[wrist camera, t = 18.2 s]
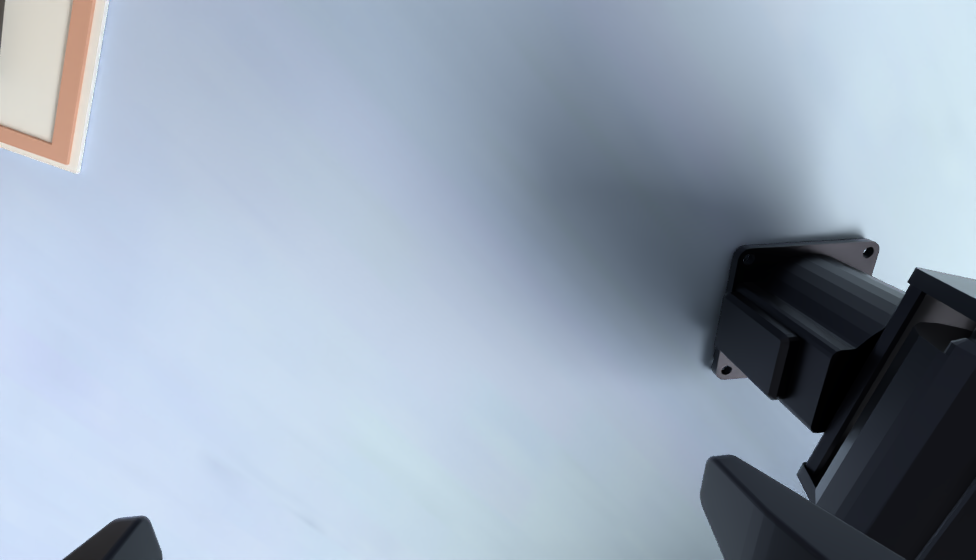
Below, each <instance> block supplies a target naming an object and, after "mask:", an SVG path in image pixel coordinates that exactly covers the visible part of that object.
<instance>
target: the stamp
mask: <svg viewBox="0 0 976 560" xmlns="http://www.w3.org/2000/svg"><path fill="white" fill-rule="evenodd" d="M4 7H5V0H0V49H1V38H2V28H3V18H4Z"/></svg>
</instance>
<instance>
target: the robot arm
mask: <svg viewBox="0 0 976 560" xmlns="http://www.w3.org/2000/svg"><path fill="white" fill-rule="evenodd" d="M865 249H866V251H865V252H864V250H865ZM863 252H864V253H863ZM878 253H879V245H878V244H877V243H876V242H874V241H871V240H869V239H847V240H829V241H812V242H794V243H776V244H758V245H744V246H741V247H739V248H738V249H737V250H736V251H735V252H734V254H733V257H732V262H731V267H730V273H729V278H728V283H727V289H726V294H725V296H724V298H723V302H722V307H721V313H720V318H719V323H718V329H717V334H716V339H715V346H716V347H715V353H714V358H713V363H712V371H713V373H714V374H715V375H716V376H717V377H718V378H720V379H724V380H725V379H737V378H749V379H750V380H751V381H752V382H753V383H754V384H755V385H756V386H757V387H758V388H759V389H760V390H761V391H762V392H763V393H764V394H765V395H766V396H767V397H768V398H770V399H771V400H779V401H780V402H781V403H782V404H783V405H784V406H785V407H786V408H787V409H788V410H790V411H791V412H792V413H793V414H794V415H795V416H796V417H797V418H798V419H799V420H800V421H801V422H802V423H803V424H804V425H805V426H806V427H808V428H809V429H810V430H811V431H812V432H813V433H822V432H824V434H823V436H822V437H821V439H820V441H819V442H818V444H817V446H816V448H815V449H814V451H813V453H812V455H811V456H810V458H809V460H808V461H807V462H804V463H803V464H802V466H801V467H800V469H799V471H798V473H797V476H798V478H799V480H800V482H801V484H802V486H803V488H804V490H805V492H806V494H807V496H808V498H809V500H810V501H809V500H807V499H806V498H804V497H802V496H801V495H799V494H797V493H796V492H794V491H792V490H791V489H789V488H787V487H786V486H784V485H782V484H781V483H779V482H777V481H776V480H774V479H772V478H771V477H769V476H768V475H766V474H764V473H763V472H761V471H759V470H758V469H756V468H754V467H753V466H751V465H749V464H748V463H746V462H744V461H743V460H741V459H739V458H738V457H736V456H733V455H721V456H712V457H710V458H709V459H708V460H707V462H706V465H705V470H704V475H703V480H702V485H701V490H700V499H701V504H702V507H703V510H704V512H705V514H706V517H707V519H708V522H709V524H710V526H711V529H712V531H713V533H714V536H715V538H716V541H717V543H718V545H719V548H720V550H721V552H722V555H723V557H724V559H725V560H976V280H975V279H970V278H965V277H961V276H956V275H951V274H946V273H942V272H937V271H932V270H928V269H923V268H918V267H916V268H915V270H914V272H913V273H912V275H911V277H910V279H909V280H908V283H909V284H910V286H909V287H908V289H907V291H906V292H904V291H902V290H900V289H898V288H896V287H894V286H891V285H889V284H887V283H885V282H883V281H881V280H879V279H877V278H875V277H873V276H872V273H873V269H874V266H875V263H876V260H877V256H878ZM748 254H749V257H748V259H747V260H746V261H744V262H743V259H744V257H745V256H746V255H748ZM725 366H727V367H726V368H725V369H724V370H722V368H724V367H725ZM162 559H163V558H162V551H161V548H160V546H159V543H158V540H157V538H156V535H155V532H154V530H153V527H152V524H151V522H150V520H149V519H148V518H147V517H145V516H133V517H124V518H118V519H115V520H113V521H112V522H110V523H109V524H108V525H106V526H105V527H104V528H102V529H101V530H100V531H99V532H97V533H96V534H95V535H93V536H92V537H91V538H90V539H88V540H87V541H86V542H84V543H83V544H82V545H81V546H79V547H78V548H77V549H75V550H74V551H73V552H72V553H70V554H69V555H68V556H66V557H65V558H64V559H63V560H162Z"/></svg>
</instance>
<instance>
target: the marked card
mask: <svg viewBox="0 0 976 560" xmlns="http://www.w3.org/2000/svg"><path fill="white" fill-rule="evenodd" d="M108 6H109V0H5V7H4V18H3V28H2V38H1V49H0V147H1V148H4V149H6V150H9V151H12V152H15V153H18V154H21V155H24V156H27V157H29V158H32V159H35V160H38V161H41V162H44V163H47V164H50V165H52V166H55V167H58V168H61V169H64V170H67V171H70V172H73V173H75V174H77V173H80V170H81V164H82V158H83V152H84V146H85V140H86V134H87V129H88V123H89V117H90V111H91V105H92V99H93V94H94V88H95V82H96V76H97V70H98V64H99V58H100V53H101V47H102V41H103V35H104V29H105V23H106V18H107V12H108Z"/></svg>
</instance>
